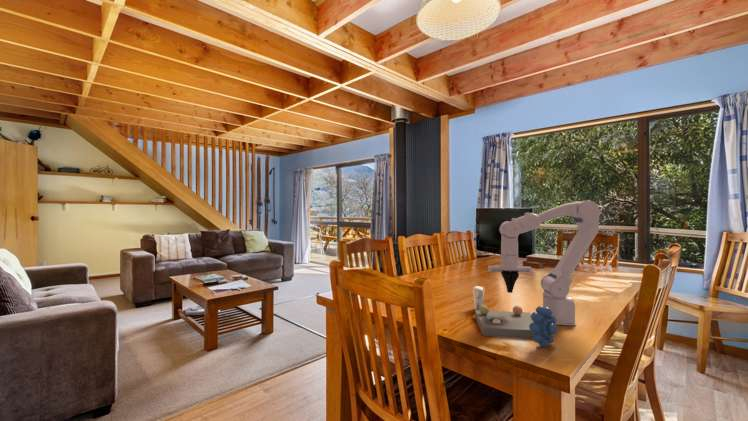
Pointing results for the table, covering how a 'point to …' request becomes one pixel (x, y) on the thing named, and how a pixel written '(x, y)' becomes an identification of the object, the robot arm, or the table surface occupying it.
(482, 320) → the board
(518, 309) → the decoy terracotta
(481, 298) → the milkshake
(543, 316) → the grapes
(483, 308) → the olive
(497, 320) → the steel ball
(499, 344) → the table surface
